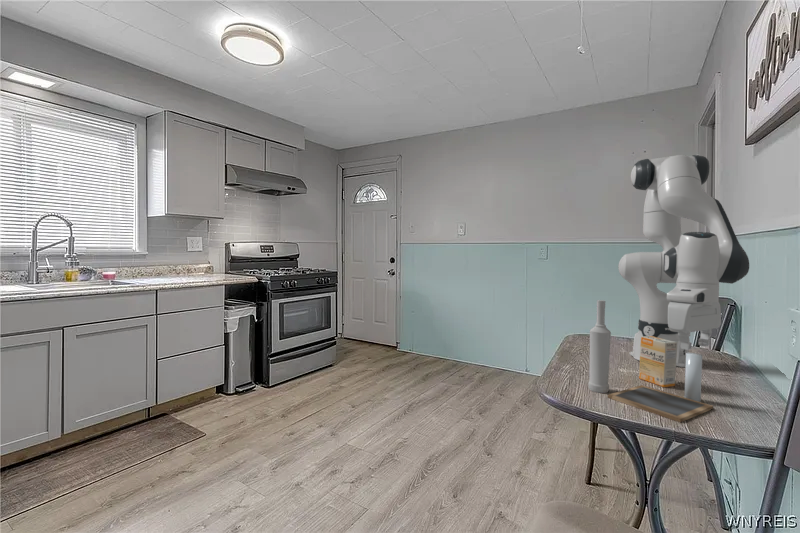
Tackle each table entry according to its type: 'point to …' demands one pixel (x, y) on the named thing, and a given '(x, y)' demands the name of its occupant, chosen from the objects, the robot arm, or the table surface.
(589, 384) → the bottle
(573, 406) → the table surface
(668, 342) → the supplement box
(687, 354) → the chalk
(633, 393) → the slate board
